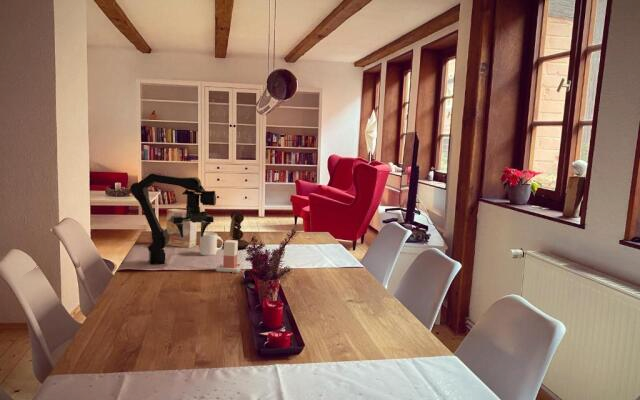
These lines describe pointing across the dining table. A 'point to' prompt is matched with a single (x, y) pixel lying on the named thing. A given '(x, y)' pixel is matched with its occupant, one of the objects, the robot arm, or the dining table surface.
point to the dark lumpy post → (237, 229)
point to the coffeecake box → (188, 230)
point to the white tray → (233, 270)
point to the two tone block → (230, 254)
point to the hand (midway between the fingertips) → (191, 237)
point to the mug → (209, 243)
